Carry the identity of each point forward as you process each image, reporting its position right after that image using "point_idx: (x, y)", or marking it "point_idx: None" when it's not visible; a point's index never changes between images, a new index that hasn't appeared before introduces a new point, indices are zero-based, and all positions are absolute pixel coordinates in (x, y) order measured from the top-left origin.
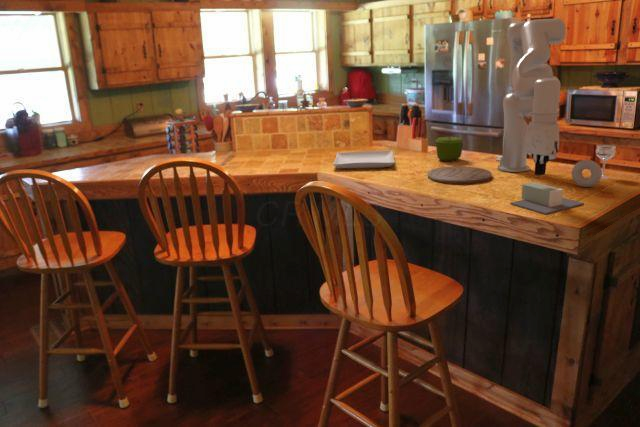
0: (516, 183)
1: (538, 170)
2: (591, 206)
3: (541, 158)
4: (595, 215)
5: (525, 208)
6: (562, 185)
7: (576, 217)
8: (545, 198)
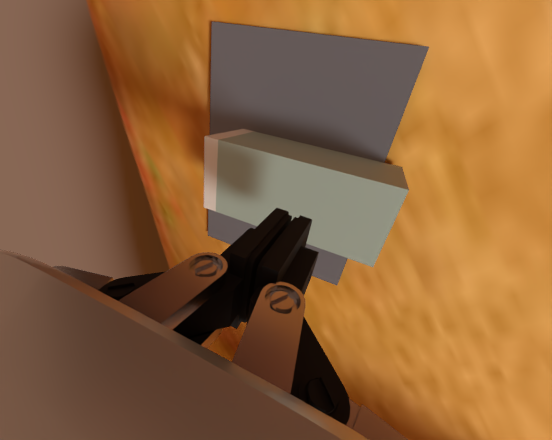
0: (530, 397)
1: (265, 221)
2: (190, 226)
3: (174, 291)
4: (138, 150)
5: (318, 34)
6: (349, 390)
7: (146, 88)
8: (258, 138)
